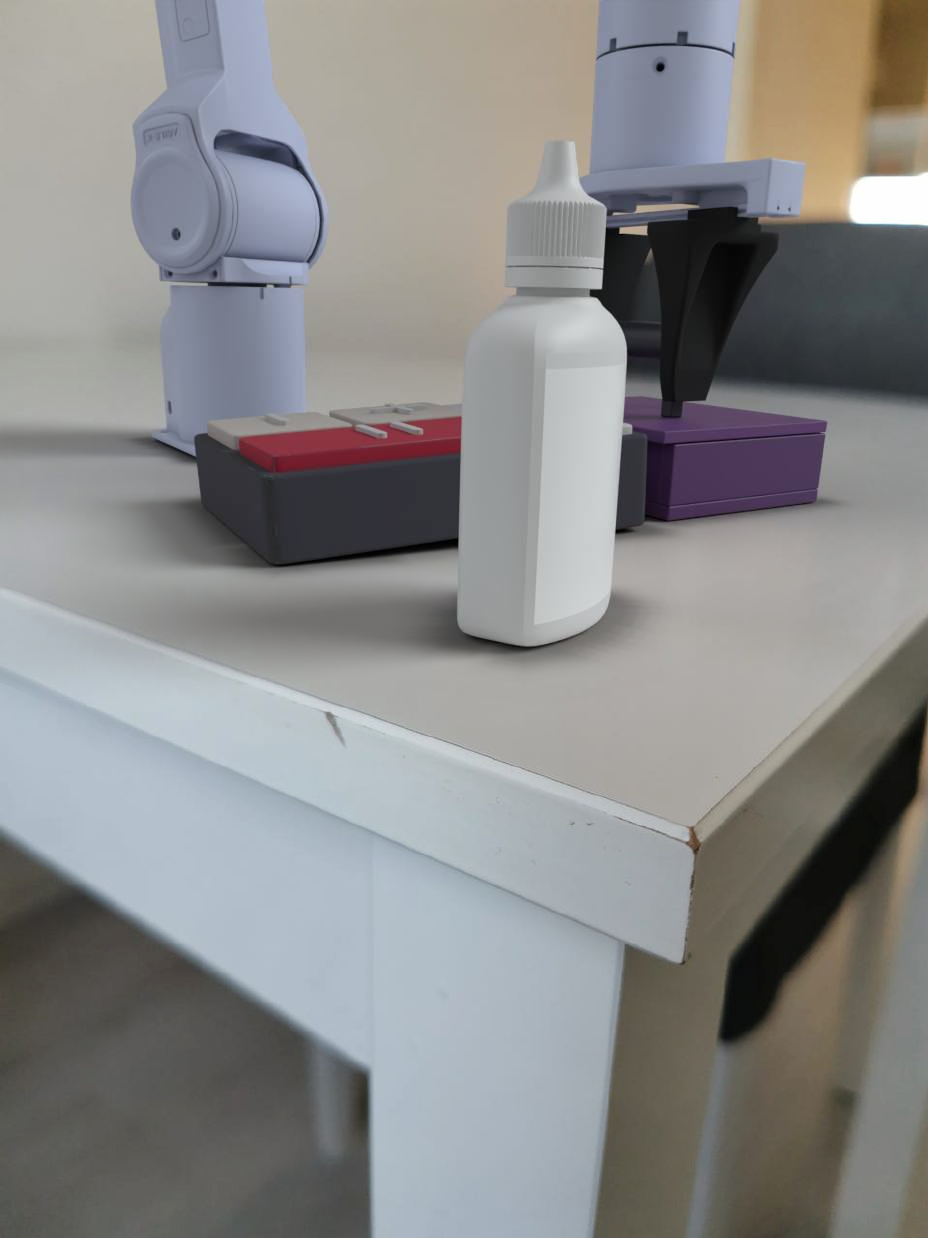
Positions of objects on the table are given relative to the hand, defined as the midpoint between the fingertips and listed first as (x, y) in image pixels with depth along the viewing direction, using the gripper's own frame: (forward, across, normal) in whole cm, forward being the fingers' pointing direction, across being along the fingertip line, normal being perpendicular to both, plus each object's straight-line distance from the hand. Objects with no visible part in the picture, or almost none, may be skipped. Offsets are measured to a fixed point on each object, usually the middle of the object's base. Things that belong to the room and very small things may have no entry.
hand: (638, 394), depth 45 cm
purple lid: (+1, 0, -1) cm, 2 cm away
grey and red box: (+5, -1, +12) cm, 13 cm away
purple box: (+4, 0, -1) cm, 5 cm away
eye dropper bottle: (+5, -14, +16) cm, 22 cm away
